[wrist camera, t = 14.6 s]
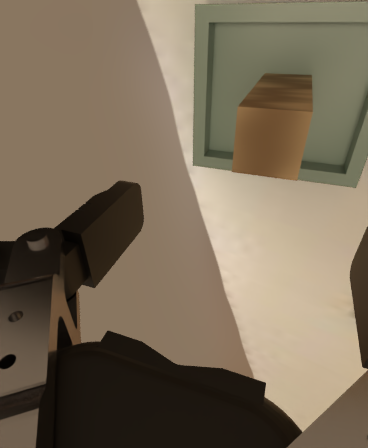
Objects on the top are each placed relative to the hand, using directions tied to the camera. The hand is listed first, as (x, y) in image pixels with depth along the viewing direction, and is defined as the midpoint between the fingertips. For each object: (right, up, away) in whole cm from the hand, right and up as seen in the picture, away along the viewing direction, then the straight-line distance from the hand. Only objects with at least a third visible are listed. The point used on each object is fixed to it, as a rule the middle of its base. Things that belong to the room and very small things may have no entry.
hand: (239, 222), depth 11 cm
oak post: (+7, +12, +17) cm, 22 cm away
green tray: (+7, +12, +17) cm, 23 cm away
